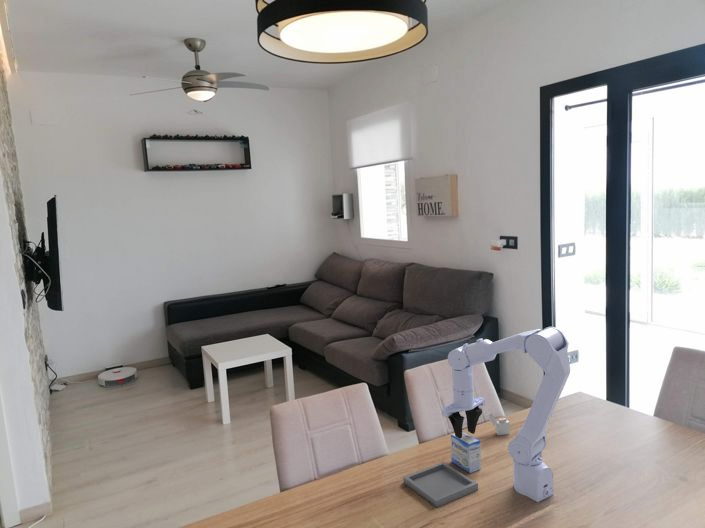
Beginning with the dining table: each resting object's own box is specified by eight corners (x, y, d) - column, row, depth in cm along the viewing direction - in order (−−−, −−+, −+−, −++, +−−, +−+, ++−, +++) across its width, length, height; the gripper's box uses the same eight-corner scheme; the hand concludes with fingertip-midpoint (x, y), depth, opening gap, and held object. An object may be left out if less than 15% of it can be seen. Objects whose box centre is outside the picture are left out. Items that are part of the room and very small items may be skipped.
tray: (478, 489, 132) (477, 483, 131) (436, 507, 125) (436, 501, 125) (443, 467, 144) (443, 461, 144) (403, 483, 137) (403, 476, 137)
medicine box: (451, 462, 147) (449, 434, 146) (462, 458, 149) (461, 430, 148) (469, 473, 140) (468, 444, 139) (481, 469, 142) (480, 439, 141)
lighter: (507, 432, 163) (506, 409, 163) (510, 434, 162) (509, 411, 161) (487, 435, 162) (486, 411, 162) (489, 437, 161) (488, 413, 160)
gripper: (472, 379, 149) (474, 423, 150) (434, 390, 142) (436, 436, 143) (490, 386, 142) (491, 431, 144) (450, 397, 136) (452, 445, 137)
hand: (465, 434), depth 143 cm, fingers open, 4 cm apart
